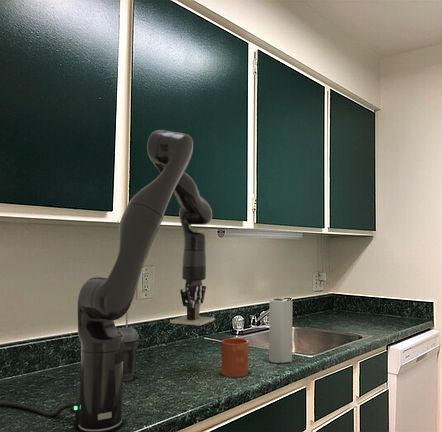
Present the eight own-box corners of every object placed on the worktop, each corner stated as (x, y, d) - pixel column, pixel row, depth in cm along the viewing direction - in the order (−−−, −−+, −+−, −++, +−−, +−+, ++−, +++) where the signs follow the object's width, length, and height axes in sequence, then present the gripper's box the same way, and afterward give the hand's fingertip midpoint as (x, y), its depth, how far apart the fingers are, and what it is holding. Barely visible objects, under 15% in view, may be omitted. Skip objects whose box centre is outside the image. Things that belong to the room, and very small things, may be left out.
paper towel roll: (265, 360, 158) (266, 299, 159) (278, 357, 161) (278, 297, 162) (278, 365, 152) (279, 301, 153) (292, 362, 156) (292, 300, 157)
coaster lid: (170, 322, 141) (170, 304, 141) (186, 317, 151) (186, 300, 151) (200, 325, 138) (200, 306, 138) (214, 320, 148) (215, 302, 148)
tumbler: (216, 375, 140) (217, 342, 141) (227, 367, 148) (228, 337, 149) (242, 378, 137) (242, 345, 138) (252, 370, 145) (252, 339, 146)
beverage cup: (115, 384, 131) (117, 314, 132) (111, 377, 137) (113, 310, 138) (140, 380, 134) (142, 312, 135) (135, 374, 140) (137, 309, 141)
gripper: (194, 263, 153) (192, 314, 152) (173, 265, 140) (171, 321, 139) (214, 264, 151) (212, 316, 150) (194, 266, 137) (193, 323, 137)
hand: (192, 318), depth 144 cm, fingers closed on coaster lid, 3 cm apart
